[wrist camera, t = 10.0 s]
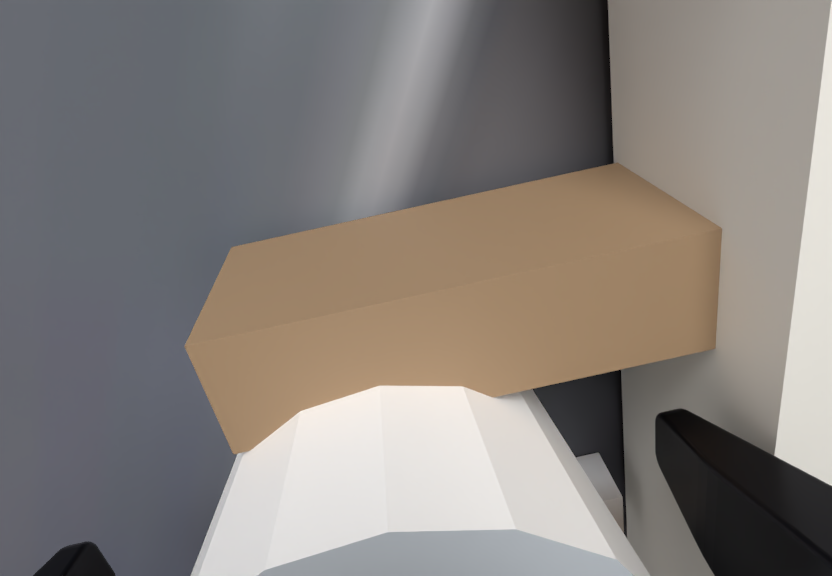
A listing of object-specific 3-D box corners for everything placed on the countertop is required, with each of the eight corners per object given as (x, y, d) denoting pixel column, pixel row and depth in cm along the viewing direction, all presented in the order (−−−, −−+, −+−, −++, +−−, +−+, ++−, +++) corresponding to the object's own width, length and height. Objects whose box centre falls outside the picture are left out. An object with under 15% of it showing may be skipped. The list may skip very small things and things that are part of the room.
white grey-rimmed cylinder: (481, 515, 16) (566, 855, 9) (220, 480, 14) (118, 856, 8) (581, 294, 13) (794, 574, 7) (268, 224, 11) (168, 496, 5)
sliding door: (679, 529, 16) (810, 742, 12) (365, 599, 16) (369, 838, 12) (702, -356, 8) (1180, -835, 3) (63, -217, 8) (-330, -504, 3)
